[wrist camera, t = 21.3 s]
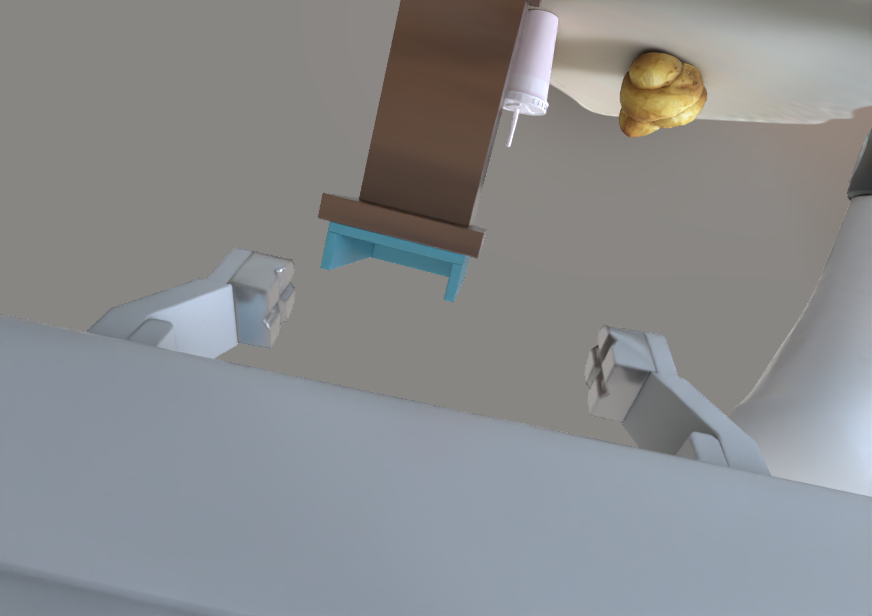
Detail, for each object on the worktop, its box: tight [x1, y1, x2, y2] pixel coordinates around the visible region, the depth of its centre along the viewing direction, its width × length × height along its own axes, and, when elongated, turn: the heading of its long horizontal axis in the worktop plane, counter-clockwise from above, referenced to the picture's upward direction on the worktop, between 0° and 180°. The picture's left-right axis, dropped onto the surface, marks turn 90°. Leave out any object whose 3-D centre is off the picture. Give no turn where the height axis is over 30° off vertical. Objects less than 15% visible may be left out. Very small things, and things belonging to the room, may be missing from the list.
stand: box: [318, 0, 541, 258], centre depth 47 cm, size 16×13×26 cm
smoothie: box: [503, 10, 559, 147], centre depth 59 cm, size 6×6×14 cm
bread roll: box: [619, 52, 707, 137], centre depth 64 cm, size 13×10×8 cm
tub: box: [321, 221, 470, 302], centre depth 49 cm, size 15×11×4 cm
